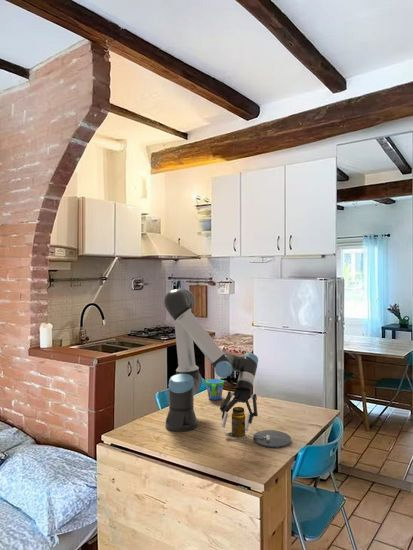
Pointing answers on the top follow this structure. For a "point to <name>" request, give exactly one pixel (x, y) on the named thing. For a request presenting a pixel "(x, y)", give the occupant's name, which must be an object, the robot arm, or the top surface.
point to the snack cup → (214, 388)
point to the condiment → (237, 424)
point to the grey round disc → (271, 439)
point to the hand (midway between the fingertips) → (234, 428)
